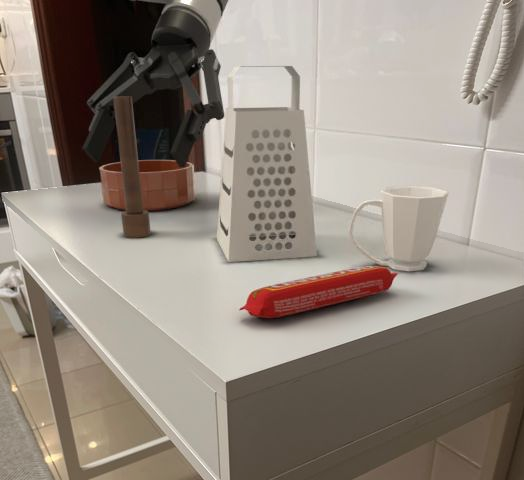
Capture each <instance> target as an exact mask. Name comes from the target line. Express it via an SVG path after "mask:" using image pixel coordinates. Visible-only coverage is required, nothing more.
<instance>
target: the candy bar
mask: <svg viewBox="0 0 524 480" xmlns="http://www.w3.org/2000/svg"><path fill="white" fill-rule="evenodd" d="M398 275H399V274H398V273H397V272H391V270H390V269H389V268H387V267H386V266H382V265H365V266H358V267H353V268H346V269H343V270H337V271H334V272H333V271H332V272H329V273H324V274H319V275H314V276H309V277H305V278H300V279H295V280H290V281H286V282H285V281H284V282H281V283H276V284H272V285H267V286H263V287H260V288H257V289H254V290H252V291H251V292H250V293H249V295H248V296H247V299H246V303H245V304H244V305H243V306H242V307H240V308H239V309H238V311H242V310H245V311H247V313H248V314H249V315H250V316H251V317H256V318H263V319H264V318H265V319H273V318H280V317H286V316H289V315H294V314H298V313H299V314H300V313H302V312H306V311H307V312H308V311H310V310H315V309H318V308H319V309H320V308H323V307H328V306H333V305H335V304H340V303H344V302H348V301H352V300H357V299H360V298H364V297H367V296H368V297H369V296H371V295H375V294H380V293H383V292H386V291H388V290H389V289H390V288H391V287H392V285H393V282H394V280H395V278H396V277H397V276H398Z"/></svg>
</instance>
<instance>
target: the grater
mask: <svg viewBox="0 0 524 480" xmlns="http://www.w3.org/2000/svg"><path fill="white" fill-rule="evenodd" d="M260 67H261V68H266V67H268V68H273V67H275V68H276V67H277V68H278V67H281V68H284V69H285V70H286V71H287V73H288V74H289V75H290V76H291V85H290V86H291V93H290V94H291V95H290V107H289V106H274V107H273V106H272V107H234V89H233V88H234V84H233V83H234V81H233V77H234V76H235V75H236V73H237V72H238V70H239V69H240V68H260ZM226 79H227V80H226V81H227V107H226V108H225V115H224V117H225V118H224V119H225V120H224V133H223V147H222V160H221V173H220V174H221V175H220V186H219V187H220V190H219V200H218V213H217V214H218V215H217V227H216V229H217V231H216V240H217V243H218V244H219V246H220V248H221V251H222V253H223V255H224V256H225V258H226V260H227V262H228V263H238V262H239V263H240V262H252V261H253V262H254V261H265V260H267V261H268V260H280V259H281V260H282V259H283V260H284V259H296V258H297V259H298V258H310V257H311V258H312V257H318V252H317V240H316V239H317V238H316V230H315V218H314V209H313V208H314V207H313V196H312V195H313V194H312V186H311V175H310V164H309V163H310V162H309V152H308V142H307V131H306V130H307V129H306V120H305V110H304V109H300V100H301V97H300V96H301V95H300V94H301V89H300V88H301V75H300V74H299V72H297V71H296V69H295V68H294V67H293V65H239V66H234V68H233V69H232V70H231V72H230V73H229V74H228V75H227V78H226ZM290 235H294V236H295V237H294V238H291V237H290ZM271 236H275V239H271V238H270V237H271ZM280 236H285V238H283V239H282V238H280ZM254 237H255V240H251V239H250V238H254ZM260 237H265V239H263V240H261V239H260ZM278 243H280V244H281V246H282V247H281V248H280V249H277V248H276V245H277V244H278ZM286 243H290V244H291V247H290V248H287V247H286ZM258 244H259V245H261V246H262V248H261V250H257V249H256V246H257V245H258ZM267 244H270V245H271V246H272V247H271V249H269V250H267V248H266V245H267Z"/></svg>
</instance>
